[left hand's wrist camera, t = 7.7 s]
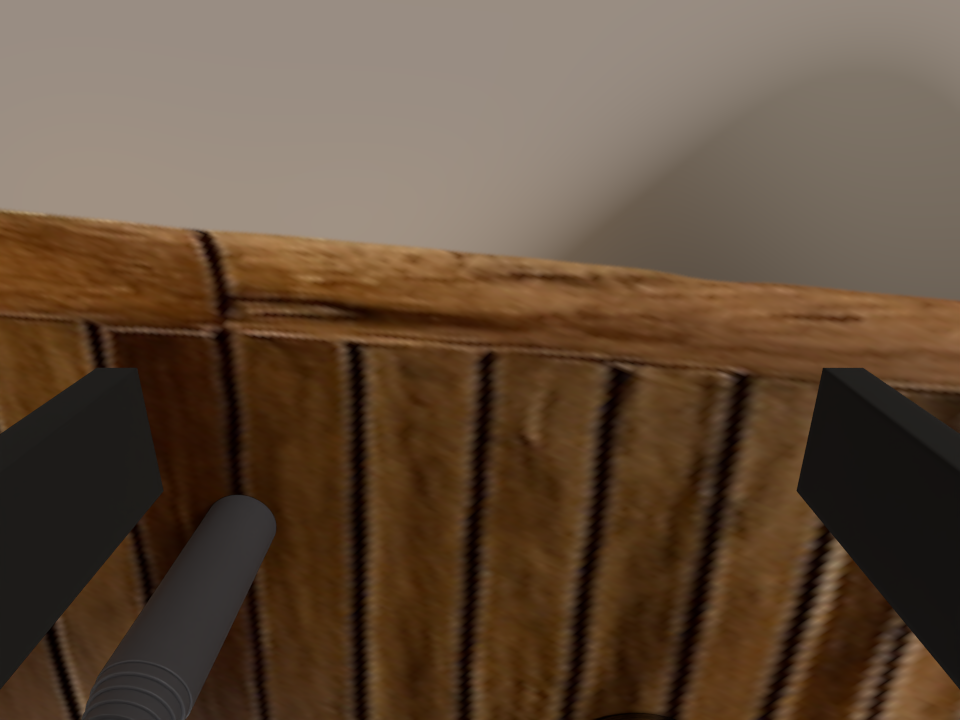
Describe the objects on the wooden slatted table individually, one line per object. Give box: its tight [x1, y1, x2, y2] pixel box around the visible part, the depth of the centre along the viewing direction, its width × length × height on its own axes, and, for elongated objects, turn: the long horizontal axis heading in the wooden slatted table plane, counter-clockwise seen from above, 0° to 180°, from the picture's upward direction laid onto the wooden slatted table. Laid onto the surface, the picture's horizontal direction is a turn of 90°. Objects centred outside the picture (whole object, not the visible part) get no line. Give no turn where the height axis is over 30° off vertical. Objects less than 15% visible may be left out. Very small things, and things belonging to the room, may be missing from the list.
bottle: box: [82, 495, 276, 720], centre depth 38 cm, size 5×5×20 cm
